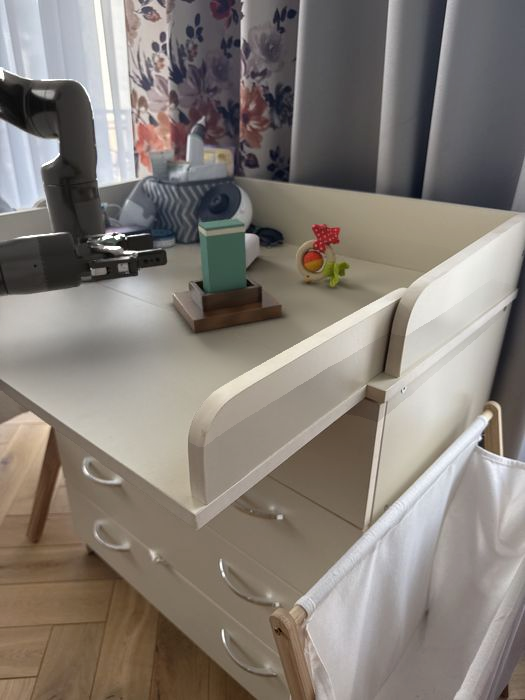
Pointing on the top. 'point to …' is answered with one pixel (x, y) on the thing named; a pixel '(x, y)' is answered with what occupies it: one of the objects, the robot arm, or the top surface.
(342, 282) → the top surface
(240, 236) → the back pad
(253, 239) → the charger
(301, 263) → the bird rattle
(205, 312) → the seat base
